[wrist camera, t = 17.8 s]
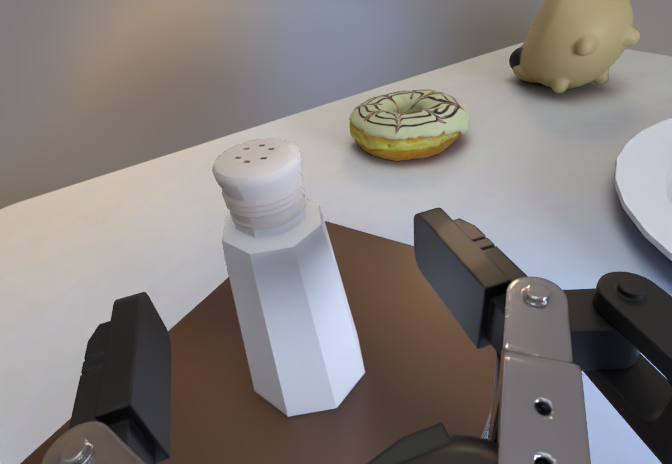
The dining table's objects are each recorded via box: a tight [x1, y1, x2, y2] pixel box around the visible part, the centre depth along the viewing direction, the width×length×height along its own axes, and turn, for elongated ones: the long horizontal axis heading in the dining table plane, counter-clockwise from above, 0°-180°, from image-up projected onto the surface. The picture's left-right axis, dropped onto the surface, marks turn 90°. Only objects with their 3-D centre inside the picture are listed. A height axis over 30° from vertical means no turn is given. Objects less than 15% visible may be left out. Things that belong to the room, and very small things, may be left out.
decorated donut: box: [349, 90, 470, 161], centre depth 40 cm, size 10×11×4 cm
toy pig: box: [509, 0, 640, 93], centre depth 45 cm, size 10×12×11 cm
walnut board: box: [20, 221, 496, 464], centre depth 20 cm, size 20×16×2 cm
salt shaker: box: [212, 138, 365, 417], centre depth 17 cm, size 5×5×11 cm
